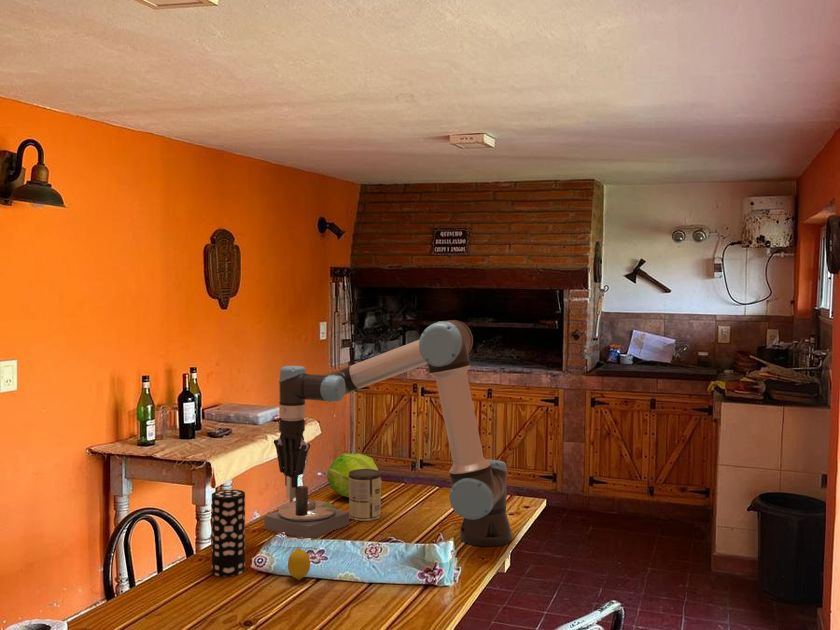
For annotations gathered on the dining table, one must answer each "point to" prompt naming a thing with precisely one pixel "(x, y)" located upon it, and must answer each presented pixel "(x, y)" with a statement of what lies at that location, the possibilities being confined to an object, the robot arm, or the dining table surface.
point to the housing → (306, 524)
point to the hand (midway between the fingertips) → (291, 497)
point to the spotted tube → (228, 532)
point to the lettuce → (347, 470)
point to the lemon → (298, 564)
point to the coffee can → (364, 494)
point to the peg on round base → (306, 508)
